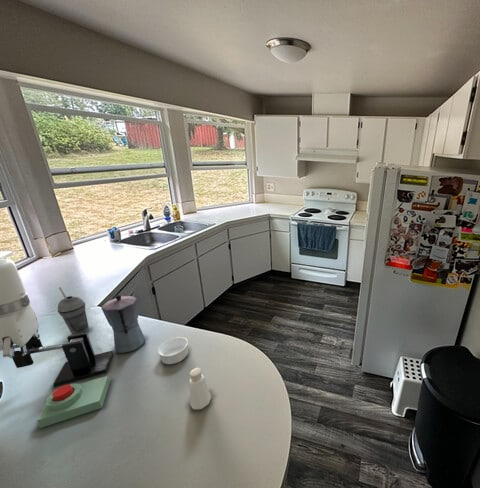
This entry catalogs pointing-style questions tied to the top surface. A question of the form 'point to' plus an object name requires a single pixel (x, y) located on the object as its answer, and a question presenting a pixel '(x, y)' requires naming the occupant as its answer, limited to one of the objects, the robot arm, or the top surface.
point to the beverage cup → (73, 313)
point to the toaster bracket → (81, 361)
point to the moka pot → (124, 323)
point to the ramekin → (173, 350)
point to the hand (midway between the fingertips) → (30, 357)
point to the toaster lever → (49, 347)
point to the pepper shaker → (198, 390)
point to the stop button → (62, 392)
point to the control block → (75, 402)
